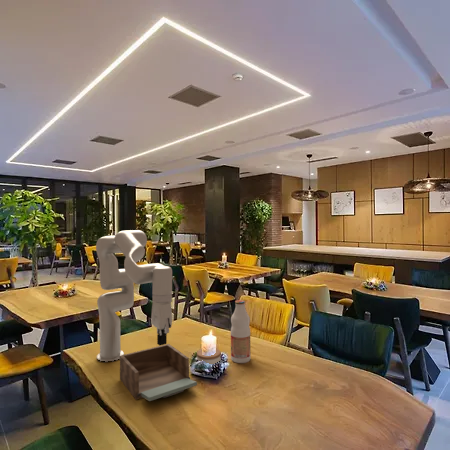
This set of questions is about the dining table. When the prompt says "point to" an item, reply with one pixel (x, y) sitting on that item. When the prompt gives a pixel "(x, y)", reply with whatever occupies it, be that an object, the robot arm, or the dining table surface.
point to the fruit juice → (240, 334)
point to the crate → (152, 368)
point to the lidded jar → (209, 357)
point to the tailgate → (168, 389)
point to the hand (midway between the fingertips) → (161, 344)
